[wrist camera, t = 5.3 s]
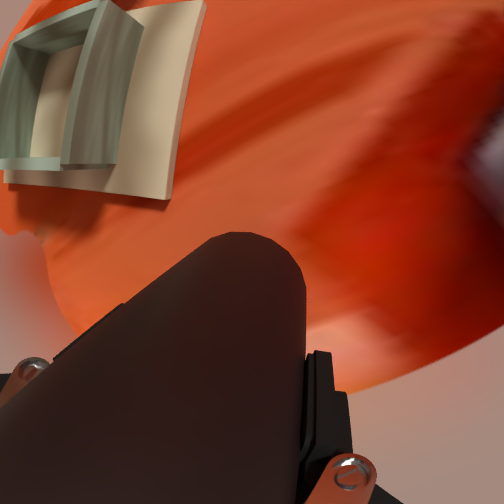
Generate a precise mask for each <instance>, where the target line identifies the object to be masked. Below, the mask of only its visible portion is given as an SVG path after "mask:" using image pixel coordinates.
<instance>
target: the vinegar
mask: <svg viewBox="0 0 504 504" xmlns="http://www.w3.org/2000/svg"><path fill="white" fill-rule="evenodd" d="M305 354H306V285H305V282H304V278H303V275H302V272H301V269H300V267H299V266H298V264H297V263H296V262H295V260H294V259H293V257H292V256H291V255H290V253H289V252H288V251H287V250H285V249H284V248H283V247H281V246H280V245H278V244H277V243H276V242H274V241H273V240H272V239H269V238H266V237H263V236H260V235H257V234H255V233H252V232H228V233H225V234H222V235H219V236H216V237H213V238H210V239H209V240H208V241H206V242H205V243H204V244H202V245H201V246H200V247H198V248H197V249H195V250H194V251H193V252H191V253H190V254H189V255H187V256H186V257H185V258H183V259H182V260H181V261H179V262H178V263H177V264H175V265H174V266H173V267H171V268H170V269H169V270H167V271H166V272H165V273H164V274H162V275H161V276H160V277H158V278H157V279H156V280H154V281H153V282H152V283H150V284H149V285H148V286H147V287H145V288H144V289H143V290H141V291H140V292H139V293H138V294H136V295H135V296H134V297H132V298H131V299H130V300H129V301H127V302H126V303H125V304H123V305H122V306H121V307H120V308H118V309H117V310H116V311H115V312H113V313H112V314H111V315H110V316H108V317H107V318H106V319H105V320H103V321H102V322H101V323H100V324H98V325H97V326H96V327H95V328H93V329H92V330H91V331H90V332H89V333H87V334H86V335H85V336H84V337H82V338H81V339H80V340H79V341H78V342H76V343H75V344H74V345H73V346H72V347H70V348H69V349H68V350H67V351H66V352H64V353H63V354H62V355H61V356H60V357H58V358H57V359H56V360H55V361H54V362H53V363H52V364H50V365H49V366H48V367H47V368H45V369H44V370H43V371H42V372H41V373H40V374H39V375H37V376H36V377H35V378H34V379H33V380H32V381H30V382H29V383H28V384H27V385H26V386H25V387H24V388H23V389H21V390H20V391H19V392H18V393H17V394H16V395H15V396H14V397H12V398H11V399H10V400H9V401H8V402H7V403H6V404H5V405H4V406H2V407H1V408H0V504H295V498H296V489H297V479H298V469H299V459H300V447H301V434H302V419H303V402H304V382H305Z"/></svg>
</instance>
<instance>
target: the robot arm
mask: <svg viewBox="0 0 504 504" xmlns="http://www.w3.org/2000/svg"><path fill="white" fill-rule="evenodd" d="M122 305H123V303H121V304H119V305H118V306H117V307H116V308H114V309H113V310H112V311H111V312H109V313H108V314H107V315H105V316H104V317H103V318H102V319H100V320H99V321H98V322H97V323H95V324H94V325H93V326H92V327H90V328H89V329H88V330H87V331H86V332H84V333H83V334H82V335H81V336H79V337H78V338H77V339H76V340H74V341H73V342H72V343H71V344H70V345H68V346H67V347H66V348H65V349H64V350H62V351H61V352H60V353H59V354H58V355H56V356H55V357H54V358H53V361H55V360H56V359H57V358H58V357H60V356H61V355H62V354H63V353H64V352H66V351H67V350H68V349H69V348H70V347H72V346H73V345H74V344H75V343H76V342H78V341H79V340H80V339H81V338H82V337H84V336H85V335H86V334H87V333H89V332H90V331H91V330H92V329H93V328H95V327H96V326H97V325H98V324H100V323H101V322H102V321H103V320H105V319H106V318H107V317H108V316H110V315H111V314H112V313H113V312H115V311H116V310H117V309H118V308H120V307H121V306H122ZM49 365H50V364H49V363H48V362H47V361H46V360H45V359H42V358H37V357H32V358H27V359H24V360H22V361H21V362H19V363H18V365H17V366H16V367H15V369H14V370H13V372H12V373H9V374H0V408H1V407H2V406H4V405H5V404H6V403H7V402H8V401H9V400H10V399H11V398H12V397H14V396H15V395H16V394H17V393H18V392H19V391H20V390H21V389H23V388H24V387H25V386H26V385H27V384H28V383H29V382H30V381H32V380H33V379H34V378H35V377H36V376H37V375H39V374H40V373H41V372H42V371H43V370H44V369H45V368H47V367H48V366H49ZM376 478H377V473H376V469H375V467H374V465H373V464H372V462H370V461H369V460H368V459H367V458H365V457H363V456H361V455H358V454H353V448H352V436H351V426H350V416H349V408H348V399H347V394H346V392H341V391H335V387H334V376H333V365H332V355H331V353H330V352H324V351H318V350H315V351H314V353H313V354H310V353H308V355H307V357H306V361H305V382H304V402H303V419H302V434H301V447H300V459H299V469H298V479H297V489H296V498H295V504H403V503H401V502H400V501H399V500H397V499H396V498H395V497H393V496H392V495H390V494H389V493H388V492H386V491H385V490H383V489H382V488H381V487H379V486H378V485H377V484H375V482H376Z"/></svg>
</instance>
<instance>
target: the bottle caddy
mask: <svg viewBox="0 0 504 504" xmlns="http://www.w3.org/2000/svg"><path fill="white" fill-rule="evenodd" d="M206 8H207V5H206V4H205V2H204V1H203V0H197V1H186V2H177V3H169V4H162V5H156V6H150V7H145V8H139V9H134V10H130V11H124V10H122V9H121V8H120V7H119V6H117V5H116V4H115V3H113V2H112V1H111V0H93V1H90V2H87V3H84V4H81V5H79V6H76V7H74V8H71V9H69V10H66V11H64V12H61V13H59V14H57V15H55V16H52V17H50V18H48V19H46V20H44V21H42V22H40V23H38V24H36V25H34V26H32V27H30V28H28V29H26V30H24V31H23V32H21V33H19V34H17V35H16V36H15V39H14V40H12V41H10V42H9V45H8V48H7V51H6V54H5V57H4V60H3V64H2V67H1V71H0V170H4V183H15V184H28V185H39V186H51V187H61V188H71V189H81V190H90V191H99V192H107V193H116V194H124V195H132V196H140V197H147V198H155V199H162V200H167V199H171V195H172V186H173V177H174V169H175V162H176V154H177V147H178V141H179V134H180V128H181V122H182V116H183V110H184V104H185V99H186V94H187V89H188V84H189V79H190V74H191V69H192V65H193V60H194V56H195V51H196V47H197V43H198V39H199V35H200V31H201V27H202V23H203V19H204V16H205V12H206Z"/></svg>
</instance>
